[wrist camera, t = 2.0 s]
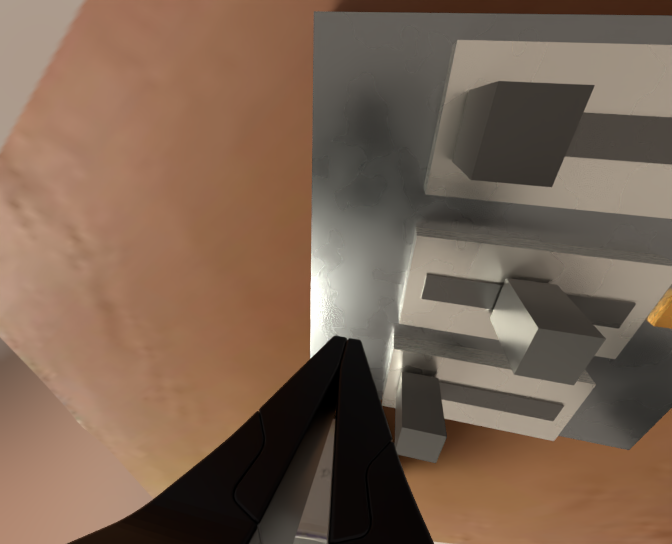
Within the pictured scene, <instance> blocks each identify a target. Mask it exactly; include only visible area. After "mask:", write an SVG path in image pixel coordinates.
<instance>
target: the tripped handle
mask: <svg viewBox="0 0 672 544" xmlns="http://www.w3.org/2000/svg"><path fill="white" fill-rule="evenodd" d="M490 320H491V322H492V325H493V327H494V329H495V332H496V334H497V336H498V339H499V341H500V343H501V346H502V348H503V350H504V353H505V355H506V357H507V360H508V362H509V364H510V367H511V369H512V371H513V374H514V375H518V376H524V377H529V378H535V379H540V380H546V381H552V382H557V383H563V384H568V385H574V384H575V383H576V382H577V380H578V379H579V377H580V376H581V374H582V373H583V371H584V370H585V369H586V367H587V366H588V364H589V363H590V361H591V360H592V358H593V357H594V356H595V354H596V353H597V351H598V350H599V348H600V347H601V346H602V344H603V343H604V341H605V340H606V338H605V337H604V336H603V335H602V334H601V333H600V332H599V330H598V329H597V328H596V327H595V326H594V325H593V324H592V323H591V322H590V320H589V319H588V318H587V317H586V316H585V315H584V314H583V313H582V312H581V310H580V309H579V308H578V307H577V306H576V305H575V304H574V303H573V302H572V301H571V299H570V298H569V297H568V296H567V295H566V294H565V293H564V292H563V291H562V289H561V288H560V287H559V286H558V285H555V284H548V283H540V282H533V281H526V280H518V279H511V278H506V280H505V283H504V285H503V288H502V290H501V292H500V295H499V297H498V300H497V302H496V305H495V307H494V310H493V312H492V315H491V317H490Z"/></svg>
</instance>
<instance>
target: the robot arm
mask: <svg viewBox="0 0 672 544" xmlns="http://www.w3.org/2000/svg"><path fill="white" fill-rule="evenodd" d="M335 410H336V416H335V430H334V444H333V458H332V472H331V486H330V500H329V515H328V529H327V543H326V544H434V542H433V540H432V538H431V536H430V533H429V531H428V529H427V527H426V524H425V522H424V520H423V518H422V515H421V513H420V511H419V509H418V506H417V504H416V501H415V499H414V497H413V494H412V492H411V489H410V487H409V485H408V482H407V480H406V477H405V474H404V471H403V468H402V465H401V463H400V460H399V457H398V454H397V451H396V447H395V444H394V442H392V441H393V439H392V435H391V432H390V429H389V426H388V423H387V420H386V417H385V414H384V410H383V407H382V404H381V401H380V398H379V395H378V392H377V388H376V385H375V382H374V379H373V376H372V373H371V370H370V367H369V363H368V360H367V357H366V354H365V351H364V348H363V345H362V342H361V340H359V339H353V338H348V339H347V338H346V337H342V336H336V335H335V336H333V337H332V338H331V339H330V340H329V341H328V342H327V343H326V344H325V345H324V346H323V347H322V348H321V349H320V350H319V351H318V352H317V353H316V354H315V355H314V356H313V357H312V358H311V359H310V360H309V361H308V362H307V363H306V364H305V365H304V366H303V367H301V368H300V369H299V370H298V371H297V372H296V373H295V374H294V375H293V376H292V377H291V378H290V379H289V380H288V381H287V382H286V383H285V384H284V385H283V386H282V387H281V388H280V389H279V390H278V391H277V392H276V393H275V394H274V395H273V396H272V397H271V398H270V399H269V400H268V401H267V402H266V403H265V404H264V405H263V406H262V407H261V408H260V409H259V411H257V412H256V413H255V414H254V415H253V416H252V417H251V418H250V419H248V420H247V421H246V422H245V423H244V424H243V425H242V426H241V427H240V428H239V429H238V430H237V431H236V432H235V433H234V434H233V435H231V436H230V437H229V438H228V439H227V440H226V441H225V442H223V443H222V444H221V445H220V446H219V447H217V448H216V449H215V450H214V451H213V452H211V453H210V454H209V455H208V456H207V457H205V458H204V459H203V460H202V461H200V462H199V463H198V464H197V465H195V466H194V467H193V468H192V469H190V470H189V471H188V472H187V473H185V474H184V475H183V476H182V477H180V478H179V479H178V480H177V481H175V482H174V483H173V484H172V485H170V486H169V487H168V488H167V489H166V490H164V491H163V492H162V493H161V494H159V495H158V496H157V497H155V498H154V499H153V500H152V501H150V502H149V503H148V504H146V505H145V506H143V507H142V508H140V509H139V510H137V511H136V512H134V513H132V514H131V515H129V516H127V517H125V518H124V519H122V520H120V521H118V522H116V523H114V524H111V525H109V526H107V527H105V528H102V529H100V530H98V531H95V532H93V533H91V534H88V535H86V536H84V537H82V538H79V539H77V540H74V541H72V542H70V543H68V544H293V542H294V539H295V536H296V533H297V530H298V527H299V524H300V521H301V517H302V514H303V511H304V508H305V505H306V502H307V499H308V496H309V492H310V489H311V486H312V483H313V480H314V477H315V474H316V471H317V468H318V464H319V461H320V458H321V455H322V452H323V449H324V446H325V443H326V439H327V436H328V433H329V430H330V427H331V424H332V421H333V417H334V414H335Z"/></svg>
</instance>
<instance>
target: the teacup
mask: <svg viewBox="0 0 672 544" xmlns="http://www.w3.org/2000/svg"><path fill="white" fill-rule="evenodd" d="M334 430H335V419H333V421H332V424H331V427H330V430H329V433H328V436H327V439H326V443H325V446H324V449H323V452H322V455H321V458H320V461H319V464H318V468H317V471H316V474H315V477H314V480H313V483H312V486H311V489H310V492H309V496H308V499H307V502H306V505H305V508H304V511H303V514H302V517H301V521H300V524H299V527H298V530H297V533H296V536H295V539H294V542H293V544H326V543H327V529H328V515H329V500H330V486H331V472H332V458H333V444H334Z"/></svg>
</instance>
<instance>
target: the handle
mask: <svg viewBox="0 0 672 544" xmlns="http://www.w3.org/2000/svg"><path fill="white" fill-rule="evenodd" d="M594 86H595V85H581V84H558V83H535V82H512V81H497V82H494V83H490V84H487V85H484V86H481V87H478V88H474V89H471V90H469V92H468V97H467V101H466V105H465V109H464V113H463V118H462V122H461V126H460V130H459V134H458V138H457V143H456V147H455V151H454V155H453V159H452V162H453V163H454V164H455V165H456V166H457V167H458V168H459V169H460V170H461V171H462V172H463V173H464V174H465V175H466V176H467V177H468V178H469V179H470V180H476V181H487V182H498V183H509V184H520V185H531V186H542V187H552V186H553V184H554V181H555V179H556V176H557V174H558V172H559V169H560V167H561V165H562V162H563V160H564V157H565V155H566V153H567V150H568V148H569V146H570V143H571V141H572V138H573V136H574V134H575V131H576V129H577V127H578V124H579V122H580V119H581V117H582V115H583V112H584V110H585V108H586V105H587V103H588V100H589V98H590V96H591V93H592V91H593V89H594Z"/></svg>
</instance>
